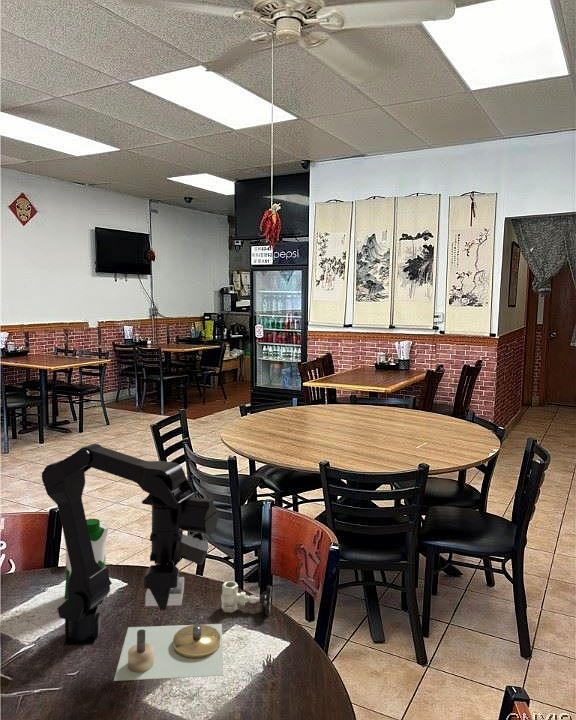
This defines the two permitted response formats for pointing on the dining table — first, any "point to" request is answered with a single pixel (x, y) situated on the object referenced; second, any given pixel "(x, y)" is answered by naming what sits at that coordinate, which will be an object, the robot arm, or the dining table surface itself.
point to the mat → (168, 656)
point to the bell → (196, 641)
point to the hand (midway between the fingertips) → (165, 600)
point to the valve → (242, 598)
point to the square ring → (174, 595)
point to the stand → (140, 655)
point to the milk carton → (98, 544)
